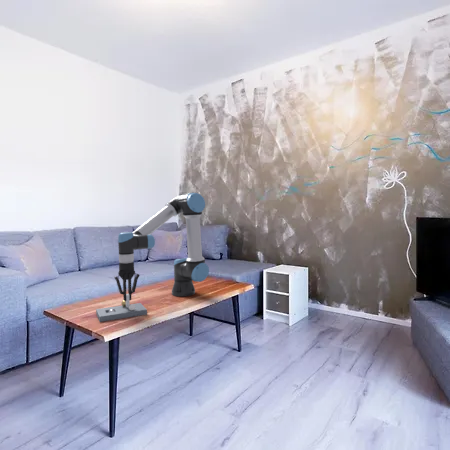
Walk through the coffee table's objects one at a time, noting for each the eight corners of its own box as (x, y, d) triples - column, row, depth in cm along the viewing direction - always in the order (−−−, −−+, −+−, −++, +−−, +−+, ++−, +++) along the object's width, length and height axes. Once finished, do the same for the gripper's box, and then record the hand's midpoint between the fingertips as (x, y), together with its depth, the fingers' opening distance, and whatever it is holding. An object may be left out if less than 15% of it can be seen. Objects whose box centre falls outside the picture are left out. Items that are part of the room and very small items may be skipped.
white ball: (134, 309, 165) (134, 303, 165) (136, 310, 162) (136, 304, 162) (128, 310, 164) (128, 304, 164) (129, 311, 161) (129, 305, 161)
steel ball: (115, 308, 165) (108, 308, 164) (116, 310, 162) (109, 310, 161) (113, 315, 165) (107, 314, 163) (114, 316, 162) (108, 316, 161)
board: (140, 307, 177) (140, 302, 177) (147, 314, 165) (146, 309, 165) (96, 313, 166) (96, 309, 166) (99, 321, 154) (99, 316, 154)
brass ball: (127, 305, 173) (126, 299, 173) (128, 306, 170) (128, 300, 170) (120, 306, 171) (120, 300, 171) (122, 307, 168) (121, 301, 168)
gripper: (137, 260, 172) (138, 303, 173) (112, 262, 166) (113, 306, 167) (140, 261, 166) (141, 306, 167) (114, 264, 160) (116, 310, 161)
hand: (127, 306), depth 167 cm, fingers closed
